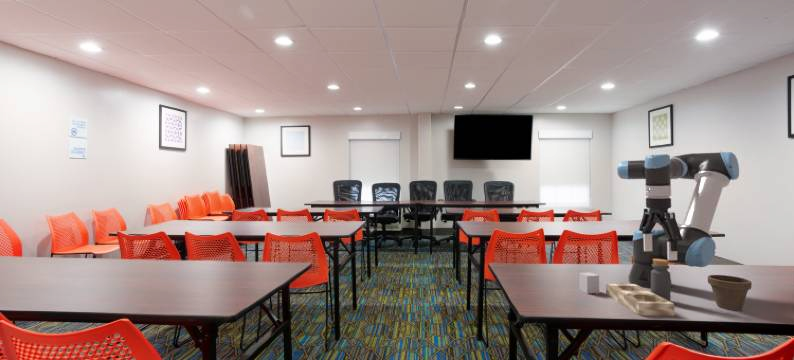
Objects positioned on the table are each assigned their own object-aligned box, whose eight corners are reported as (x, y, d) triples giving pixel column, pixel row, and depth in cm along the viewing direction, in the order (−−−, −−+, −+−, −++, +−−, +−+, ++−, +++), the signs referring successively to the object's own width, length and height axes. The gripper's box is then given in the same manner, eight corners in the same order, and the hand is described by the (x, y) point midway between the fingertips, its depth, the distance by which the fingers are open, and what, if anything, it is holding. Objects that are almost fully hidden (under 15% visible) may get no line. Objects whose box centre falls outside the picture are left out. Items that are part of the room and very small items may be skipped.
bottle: (667, 298, 138) (667, 258, 138) (673, 304, 132) (672, 262, 132) (648, 297, 140) (648, 257, 140) (653, 302, 134) (653, 261, 134)
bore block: (635, 294, 143) (635, 284, 143) (674, 315, 121) (674, 303, 121) (606, 294, 144) (605, 283, 144) (639, 315, 122) (639, 303, 122)
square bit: (591, 289, 150) (591, 272, 150) (599, 293, 145) (599, 275, 145) (579, 290, 150) (579, 272, 150) (587, 293, 145) (587, 276, 145)
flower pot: (714, 299, 137) (714, 272, 136) (756, 308, 127) (756, 279, 127) (702, 305, 130) (702, 277, 130) (745, 315, 121) (745, 285, 121)
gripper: (628, 194, 147) (629, 248, 147) (670, 200, 122) (672, 264, 123) (647, 194, 146) (649, 247, 147) (694, 199, 121) (696, 263, 122)
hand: (659, 255), depth 135 cm, fingers open, 13 cm apart
